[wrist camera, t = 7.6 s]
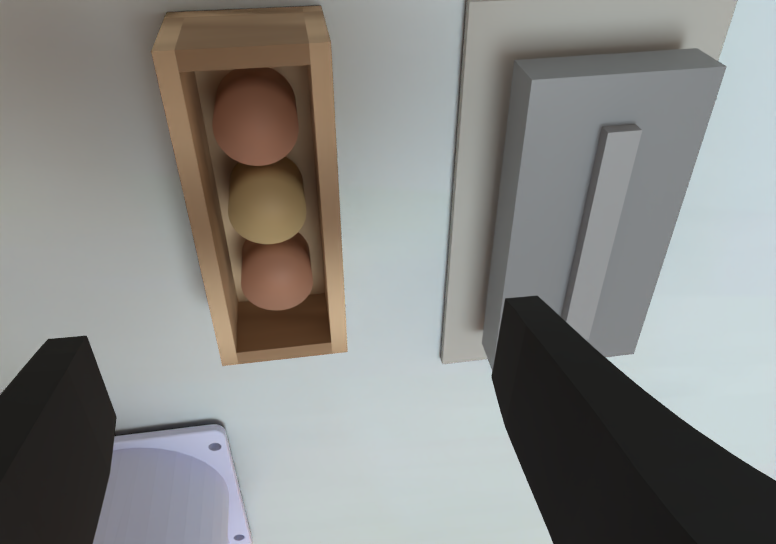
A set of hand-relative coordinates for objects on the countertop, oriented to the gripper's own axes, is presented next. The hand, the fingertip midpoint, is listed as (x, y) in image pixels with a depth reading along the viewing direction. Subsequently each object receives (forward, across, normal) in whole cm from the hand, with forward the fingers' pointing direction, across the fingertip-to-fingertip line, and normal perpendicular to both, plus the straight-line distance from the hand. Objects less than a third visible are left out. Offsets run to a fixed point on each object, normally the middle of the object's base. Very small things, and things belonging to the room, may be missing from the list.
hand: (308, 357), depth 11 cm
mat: (+10, -9, +4) cm, 14 cm away
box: (+10, +1, +2) cm, 10 cm away
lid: (+9, -9, +3) cm, 13 cm away
